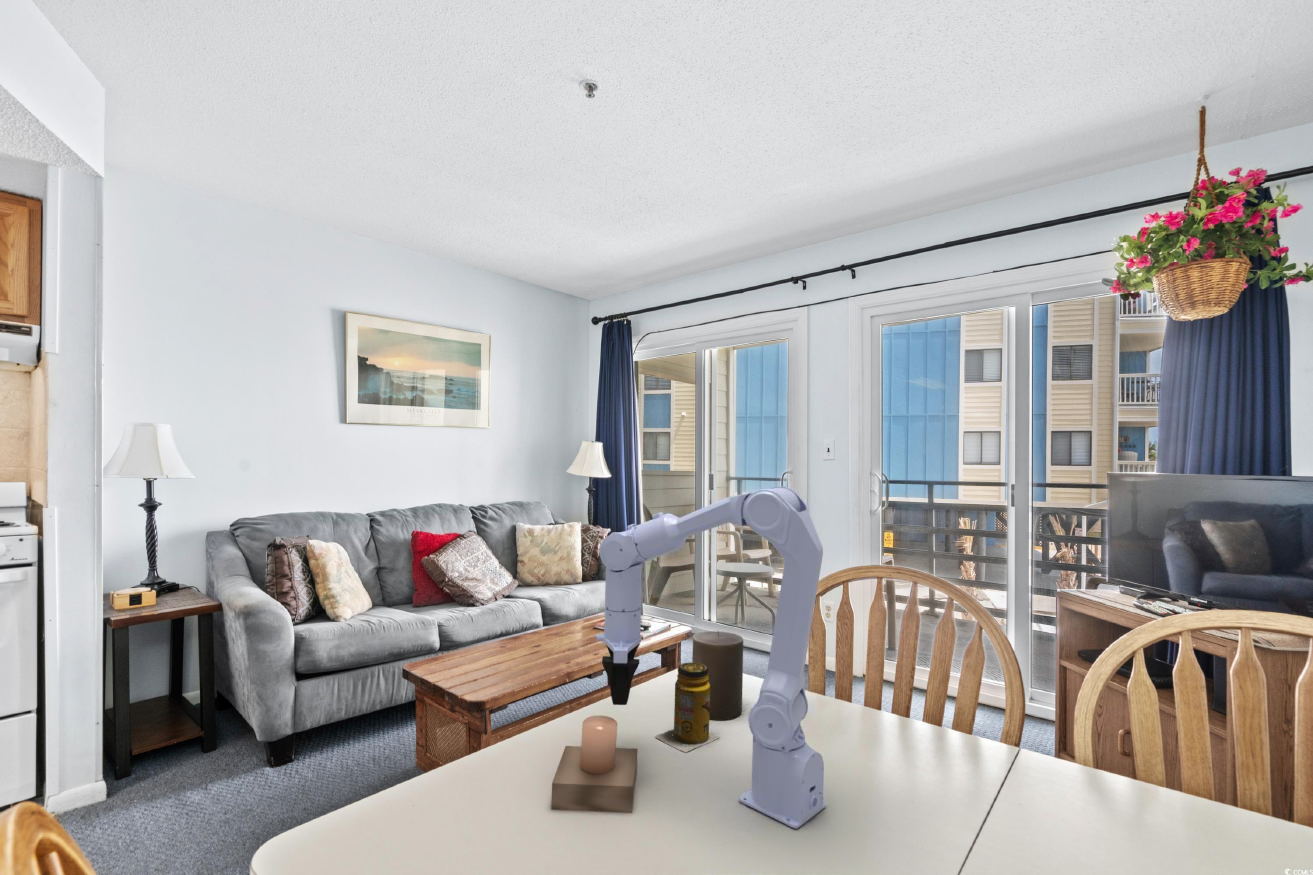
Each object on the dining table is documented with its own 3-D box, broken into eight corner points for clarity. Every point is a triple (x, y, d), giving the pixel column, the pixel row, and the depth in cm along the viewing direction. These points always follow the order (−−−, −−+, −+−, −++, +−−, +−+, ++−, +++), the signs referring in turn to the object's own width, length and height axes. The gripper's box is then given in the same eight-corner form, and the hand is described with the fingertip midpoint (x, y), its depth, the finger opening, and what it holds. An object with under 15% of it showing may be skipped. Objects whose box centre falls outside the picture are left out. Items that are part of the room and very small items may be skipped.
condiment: (719, 738, 110) (721, 667, 110) (685, 753, 104) (687, 679, 105) (688, 724, 116) (690, 657, 116) (654, 738, 110) (656, 667, 110)
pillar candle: (739, 723, 116) (741, 639, 117) (685, 716, 118) (688, 634, 119) (744, 703, 126) (746, 626, 126) (695, 697, 128) (697, 621, 128)
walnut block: (636, 774, 98) (637, 748, 98) (632, 816, 87) (632, 786, 87) (564, 771, 98) (565, 745, 98) (551, 812, 87) (552, 782, 87)
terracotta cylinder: (621, 763, 93) (624, 722, 93) (600, 778, 89) (602, 735, 89) (594, 751, 96) (597, 712, 96) (572, 765, 92) (575, 724, 92)
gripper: (600, 596, 109) (598, 677, 109) (594, 619, 94) (591, 712, 94) (642, 597, 109) (640, 677, 109) (642, 620, 94) (639, 713, 94)
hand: (620, 694), depth 101 cm, fingers open, 7 cm apart
